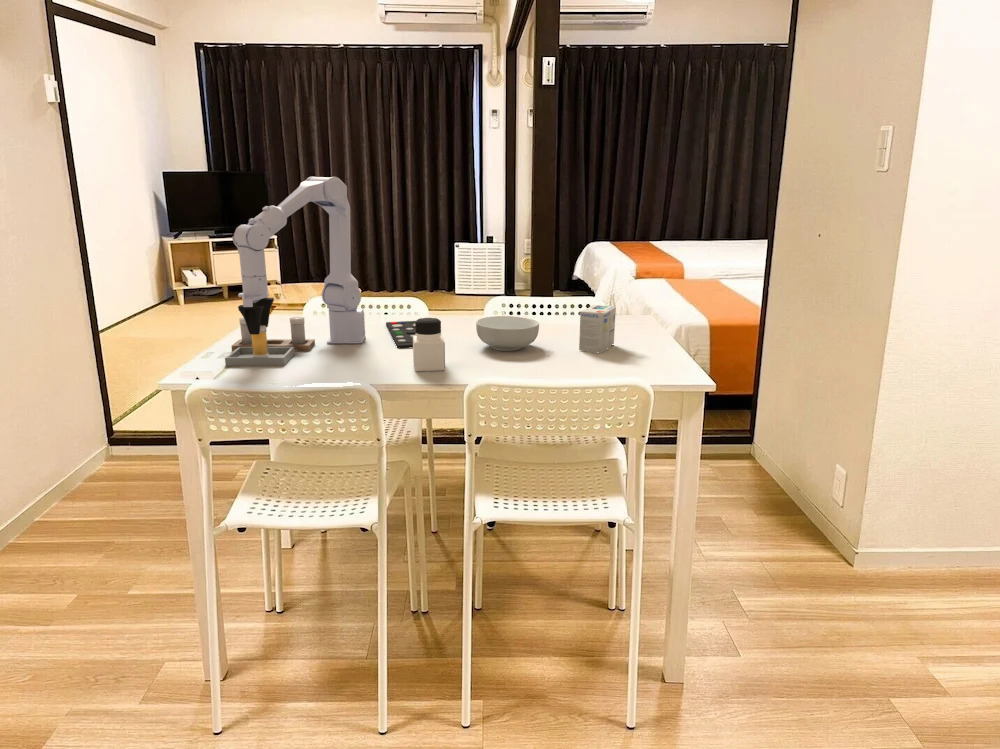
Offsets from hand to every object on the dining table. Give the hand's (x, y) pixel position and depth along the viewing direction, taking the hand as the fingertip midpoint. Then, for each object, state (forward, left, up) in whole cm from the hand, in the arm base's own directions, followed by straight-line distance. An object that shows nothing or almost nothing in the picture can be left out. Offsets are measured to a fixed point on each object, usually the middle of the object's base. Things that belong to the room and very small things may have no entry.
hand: (259, 330), depth 178 cm
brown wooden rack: (0, -12, -8) cm, 14 cm away
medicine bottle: (-42, +8, -8) cm, 43 cm away
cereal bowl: (-62, -12, -8) cm, 64 cm away
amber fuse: (0, 0, -7) cm, 7 cm away
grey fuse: (-6, -12, -8) cm, 16 cm away
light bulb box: (-86, -11, -8) cm, 87 cm away
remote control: (-35, -27, -8) cm, 45 cm away
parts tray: (0, 0, -8) cm, 8 cm away
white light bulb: (+7, -12, -8) cm, 16 cm away
